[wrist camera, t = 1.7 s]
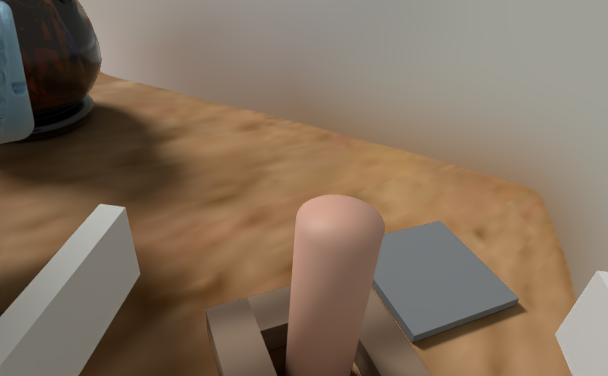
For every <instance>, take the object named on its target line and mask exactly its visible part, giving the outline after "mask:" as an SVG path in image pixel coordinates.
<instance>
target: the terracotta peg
mask: <svg viewBox="0 0 608 376" xmlns="http://www.w3.org/2000/svg"><path fill="white" fill-rule="evenodd" d="M384 231H385V225H384V221H383V219H382V217H381V215H380V214H379V213H378V212H377V210H376V209H374V208H373V207H372V206H370V205H369V204H367V203H365V202H364V201H361V200H359V199H356V198H353V197H349V196H344V195H324V196H319V197H316V198H313V199H311V200H309V201H307V202H306V203H304V204H303V205H302V206H301V207H300V209H299V210H298V213H297V216H296V228H295V242H294V255H293V268H292V282H291V295H290V309H289V322H288V336H287V349H286V362H285V376H350V375H351V371H352V366H353V362H354V358H355V354H356V349H357V345H358V341H359V337H360V333H361V328H362V324H363V320H364V316H365V311H366V307H367V303H368V299H369V295H370V290H371V286H372V282H373V278H374V274H375V269H376V265H377V261H378V257H379V252H380V248H381V244H382V240H383V236H384Z"/></svg>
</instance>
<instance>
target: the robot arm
mask: <svg viewBox="0 0 608 376" xmlns="http://www.w3.org/2000/svg"><path fill="white" fill-rule="evenodd" d="M33 129H34V118H33V113H32V109H31V104H30V99H29V94H28V89H27V84H26V79H25V74H24V68H23V63H22V58H21V53H20V48H19V43H18V38H17V33H16V28H15V23H14V19H13V14H12V10H11V8H10V6H9V5H8V4H6V3H5V2H3V1H0V144H2V143H7V142H12V141H18V140H22V139H24V138H26V137H28V136H29V135H30V134H31V133H32V131H33ZM139 276H140V270H139V266H138V261H137V257H136V252H135V248H134V243H133V239H132V235H131V230H130V226H129V221H128V217H127V212H126V208H125V207H120V206H112V205H105V204H99V205H98V207H97V208H96V209H95V210H94V211H93V212H92V213H91V215H90V216H89V217H88V218H87V219H86V220H85V221H84V222H83V224H82V225H81V226H80V227H79V228H78V229H77V230H76V232H75V233H74V234H73V235H72V236H71V237H70V238H69V239H68V241H67V242H66V243H65V244H64V245H63V246H62V247H61V249H60V250H59V251H58V252H57V253H56V254H55V255H54V257H53V258H52V259H51V260H50V261H49V262H48V263H47V264H46V266H45V267H44V268H43V269H42V270H41V271H40V272H39V274H38V275H37V276H36V277H35V278H34V279H33V280H32V281H31V283H30V284H29V285H28V286H27V287H26V288H25V289H24V291H23V292H22V293H21V294H20V295H19V296H18V297H17V298H16V300H15V301H14V302H13V303H12V304H11V305H10V306H9V308H8V309H7V310H6V311H5V312H2V311H0V376H79V374H80V373H81V371H82V369H83V368H84V366H85V364H86V363H87V361H88V359H89V358H90V356H91V355H92V353H93V351H94V350H95V348H96V346H97V345H98V343H99V341H100V340H101V338H102V336H103V335H104V333H105V332H106V330H107V328H108V327H109V325H110V323H111V322H112V320H113V318H114V317H115V315H116V313H117V312H118V310H119V309H120V307H121V305H122V304H123V302H124V300H125V299H126V297H127V295H128V294H129V292H130V290H131V289H132V287H133V286H134V284H135V282H136V281H137V279H138V277H139ZM555 335H556V338H557V340H558V342H559V345H560V347H561V350H562V352H563V354H564V357H565V359H566V361H567V364H568V366H569V368H570V371H571V373H572V375H573V376H608V272H603V271H597V272H596V273H595V275H594V276H593V278H592V279H591V281H590V282H589V284H588V285H587V287H586V288H585V290H584V292H583V293H582V294H581V296H580V297H579V299H578V300H577V302H576V303H575V305H574V306H573V308H572V309H571V311H570V312H569V314H568V315H567V317H566V318H565V320H564V321H563V323H562V324H561V326H560V327H559V329H558V331H557V332H556V334H555Z"/></svg>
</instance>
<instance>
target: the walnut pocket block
mask: <svg viewBox="0 0 608 376" xmlns="http://www.w3.org/2000/svg"><path fill="white" fill-rule="evenodd" d="M290 295H291V286H287V287H283V288H280V289H276V290H272V291H269V292H265V293H261V294H258V295H254V296H250V297H247V298H243V299H239V300H236V301H232V302H228V303H225V304H221V305H217V306H214V307H210V308H206V309H205V311H206V321H207V331H208V335H209V339H210V342H211V346H212V350H213V354H214V357H215V361H216V365H217V369H218V372H219V376H277V374H276V371H275V369H274V366H273V363H272V361H271V358H270V356H269V353H268V351H270V350H273V349H276V348H279V347H282V346H285V345H287V336H288V322H289V309H290ZM354 362H355V363H356V365H357V367H358V369H359V371H360V373H361V374H362V376H432V375H431V374H430V372H429V371H428V369H427V368H426V366H425V365H424V364H423V362H422V361H421V359H420V358H419V356H418V355H417V353H416V352H415V351H414V349H413V348H412V346H411V345H410V343H409V342H408V340H407V339H406V337H405V336H404V335H403V333H402V332H401V330H400V329H399V327H398V326H397V324H396V323H395V322H394V320H393V319H392V317H391V316H390V314H389V313H388V311H387V310H386V308H385V307H384V306H383V304H382V303H381V301H380V300H379V298H378V297H377V295H376V294H375V293H374V291H373V290H372V288H371V290H370V295H369V299H368V303H367V307H366V311H365V316H364V320H363V324H362V328H361V333H360V337H359V341H358V345H357V349H356V354H355V358H354Z"/></svg>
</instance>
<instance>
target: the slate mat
mask: <svg viewBox="0 0 608 376" xmlns="http://www.w3.org/2000/svg"><path fill="white" fill-rule="evenodd" d="M372 287H373V288H374V290H375V291H376V292H377V294H378V295H379V297H380V298H381V300H382V301H383V303H384V304H385V305H386V307H387V308H388V310H389V311H390V313H391V314H392V315H393V317H394V318H395V320H396V321H397V323H398V324H399V326H400V327H401V328H402V330H403V331H404V333H405V334H406V336H407V337H408V339H409V340H410V341H411V343H413V342H416V341H419V340H421V339H424V338H427V337H430V336H432V335H435V334H438V333H441V332H443V331H446V330H449V329H452V328H454V327H457V326H460V325H463V324H465V323H468V322H471V321H474V320H476V319H479V318H482V317H485V316H487V315H490V314H493V313H496V312H498V311H501V310H504V309H507V308H509V307H512V306H515V305H516V303H517V301H518V300H519V298H518V297H517V296H516V295H515V294H514V293H513V292H512V291H511V290H510V289H509V288H508V287H507V286H506V285H505V284H504V283H503V282H502V281H501V280H500V279H499V278H498V277H497V276H496V275H495V274H494V273H493V272H492V271H491V270H490V269H489V268H488V267H487V266H486V265H485V264H484V263H483V262H482V261H481V260H480V259H479V258H478V257H477V256H476V255H474V254H473V253H472V252H471V251H470V250H469V249H468V248H467V247H466V246H465V245H464V244H463V243H462V242H461V241H460V240H459V239H458V238H457V237H456V236H455V235H454V234H453V233H452V232H451V231H450V230H449V229H448V228H447V227H446V226H445V225H444V224H443V223H442V222H441V221H437V222H433V223H429V224H425V225H421V226H416V227H412V228H408V229H404V230H400V231H396V232H392V233H388V234H384V236H383V240H382V244H381V248H380V252H379V257H378V261H377V265H376V269H375V274H374V278H373V282H372Z"/></svg>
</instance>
